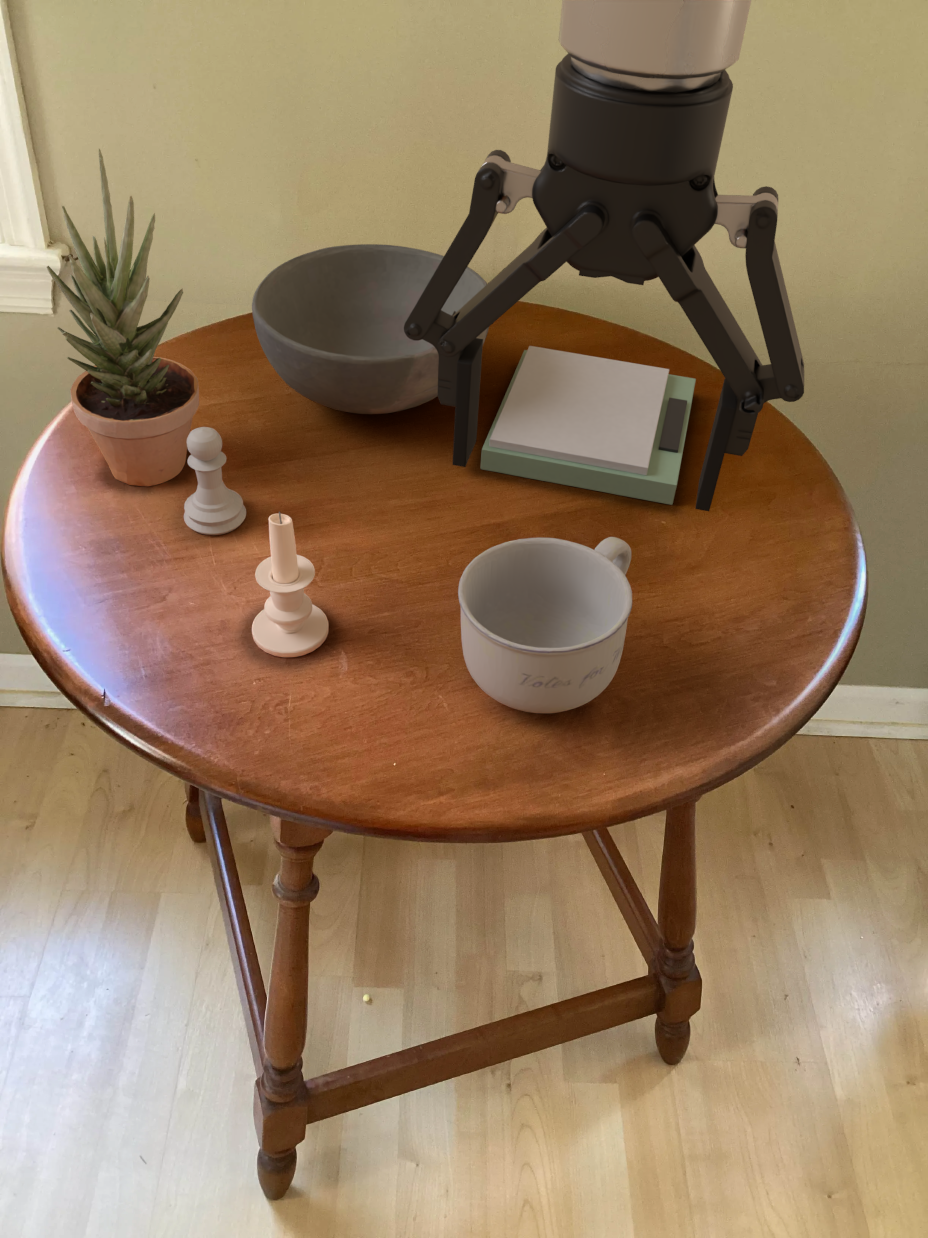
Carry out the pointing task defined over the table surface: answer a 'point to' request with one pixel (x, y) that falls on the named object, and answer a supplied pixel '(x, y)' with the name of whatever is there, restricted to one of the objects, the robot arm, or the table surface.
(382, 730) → the table surface
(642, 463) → the scale
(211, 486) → the chess piece
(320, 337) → the bowl
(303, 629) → the candle
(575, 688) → the teacup
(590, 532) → the table surface
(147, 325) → the potted plant
